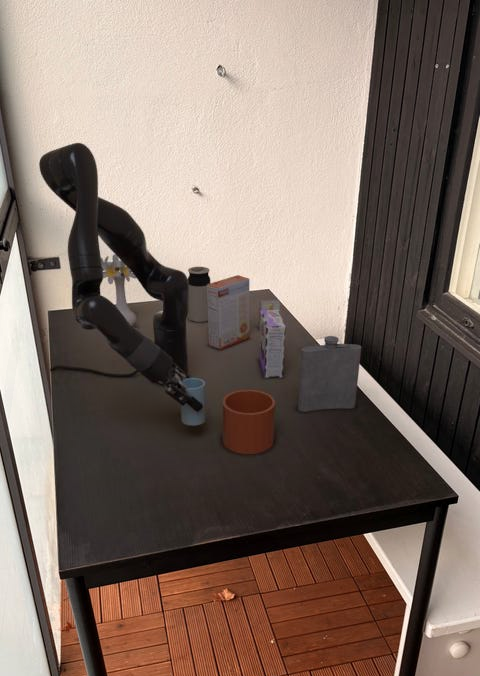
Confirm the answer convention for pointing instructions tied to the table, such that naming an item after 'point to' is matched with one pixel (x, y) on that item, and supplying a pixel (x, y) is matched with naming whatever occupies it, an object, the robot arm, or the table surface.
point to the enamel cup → (197, 391)
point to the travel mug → (198, 293)
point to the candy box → (272, 343)
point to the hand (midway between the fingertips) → (199, 402)
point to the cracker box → (228, 311)
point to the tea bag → (268, 307)
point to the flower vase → (119, 284)
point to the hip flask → (328, 376)
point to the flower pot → (248, 421)
